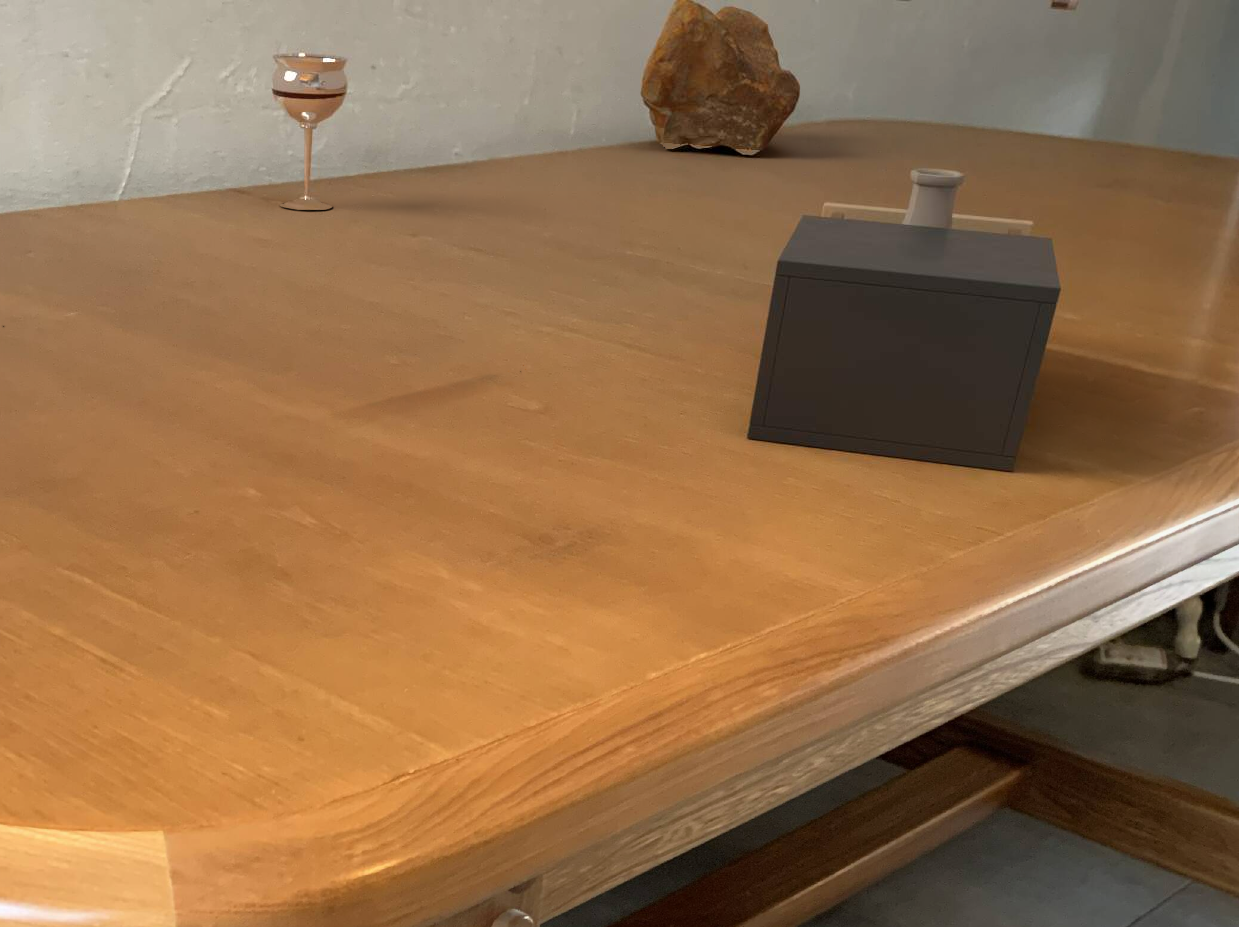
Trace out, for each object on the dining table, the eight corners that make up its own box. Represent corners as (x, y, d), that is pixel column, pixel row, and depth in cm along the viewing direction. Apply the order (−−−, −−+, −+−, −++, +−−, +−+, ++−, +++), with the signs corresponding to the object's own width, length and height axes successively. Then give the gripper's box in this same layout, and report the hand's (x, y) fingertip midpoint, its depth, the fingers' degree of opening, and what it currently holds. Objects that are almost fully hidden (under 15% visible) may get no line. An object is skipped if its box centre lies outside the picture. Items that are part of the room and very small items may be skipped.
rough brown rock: (744, 175, 186) (782, 21, 177) (610, 143, 192) (640, -7, 184) (816, 161, 202) (854, 20, 194) (690, 132, 209) (722, -6, 200)
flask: (959, 334, 112) (997, 168, 106) (960, 359, 106) (1001, 185, 100) (847, 323, 113) (879, 159, 108) (842, 347, 108) (876, 175, 102)
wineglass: (358, 208, 154) (364, 59, 148) (306, 215, 150) (310, 63, 144) (305, 197, 158) (309, 51, 152) (253, 204, 154) (255, 54, 147)
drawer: (808, 309, 122) (830, 191, 117) (1001, 330, 118) (1031, 209, 114) (782, 370, 106) (806, 237, 102) (1004, 396, 103) (1038, 259, 99)
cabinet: (774, 375, 109) (802, 214, 104) (1010, 402, 105) (1052, 237, 100) (746, 438, 96) (777, 259, 91) (1013, 471, 93) (1061, 287, 88)
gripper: (1235, -276, 93) (1159, 11, 101) (857, -283, 98) (812, -8, 106) (1250, -286, 88) (1169, 17, 96) (851, -293, 93) (804, -3, 101)
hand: (979, 4), depth 101 cm, fingers open, 8 cm apart
